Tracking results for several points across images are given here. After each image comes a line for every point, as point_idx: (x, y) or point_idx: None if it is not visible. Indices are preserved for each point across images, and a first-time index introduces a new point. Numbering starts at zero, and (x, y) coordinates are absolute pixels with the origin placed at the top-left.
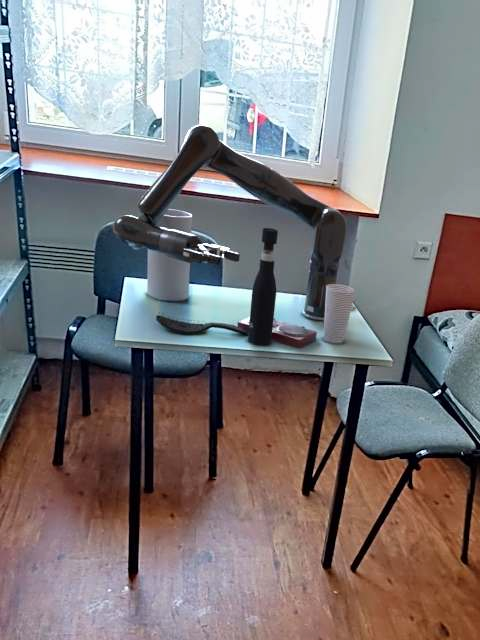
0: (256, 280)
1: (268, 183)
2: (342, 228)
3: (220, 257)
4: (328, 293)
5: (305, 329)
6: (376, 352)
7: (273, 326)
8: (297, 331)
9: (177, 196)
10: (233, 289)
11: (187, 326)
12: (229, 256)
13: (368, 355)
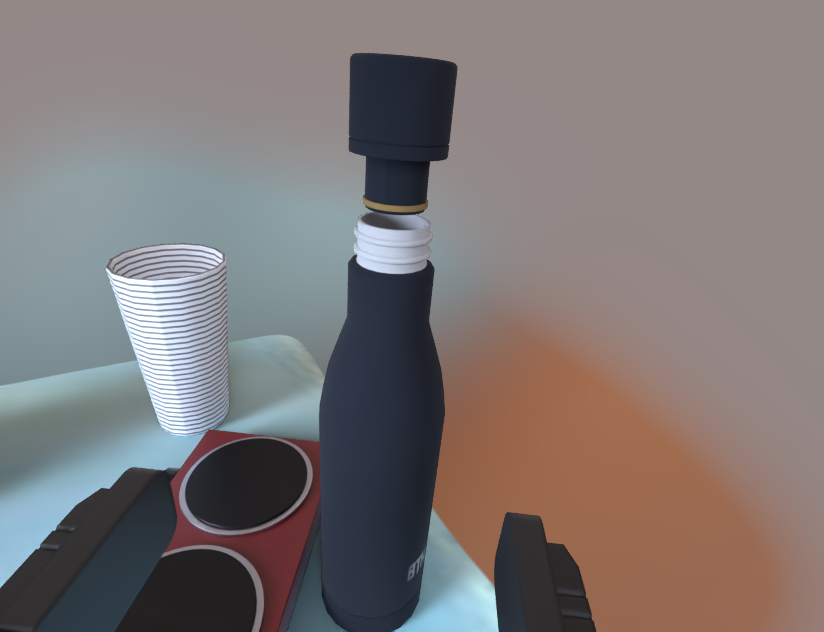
0: (433, 386)
1: None
2: None
3: (530, 516)
4: (203, 292)
5: (222, 449)
6: (247, 343)
7: (235, 552)
8: (265, 461)
9: None
10: None
11: None
12: (95, 617)
13: (281, 350)
